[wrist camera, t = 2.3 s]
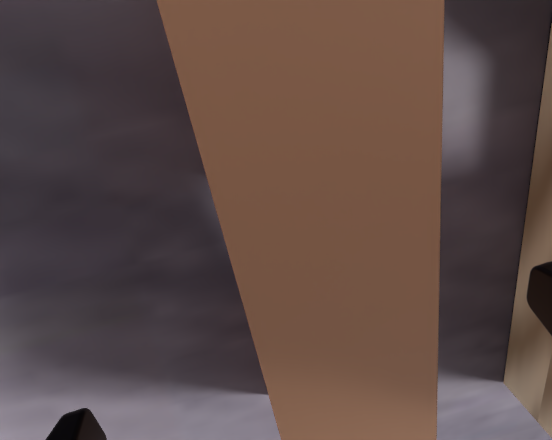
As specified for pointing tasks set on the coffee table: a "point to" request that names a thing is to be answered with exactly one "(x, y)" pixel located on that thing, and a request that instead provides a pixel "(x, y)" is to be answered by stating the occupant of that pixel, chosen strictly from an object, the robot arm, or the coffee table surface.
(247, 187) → the notched tan block
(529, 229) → the birch board
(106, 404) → the coffee table surface
